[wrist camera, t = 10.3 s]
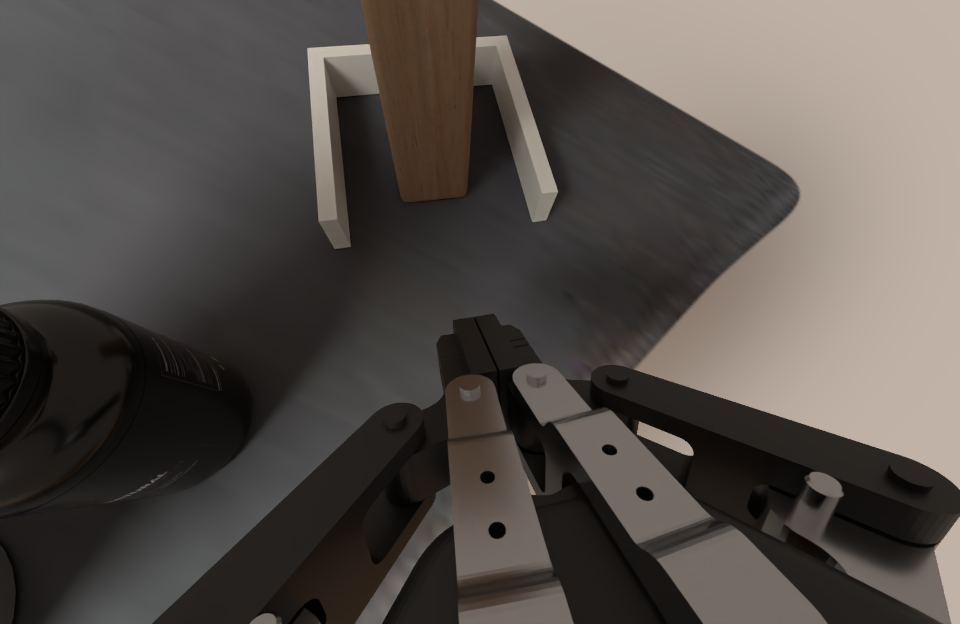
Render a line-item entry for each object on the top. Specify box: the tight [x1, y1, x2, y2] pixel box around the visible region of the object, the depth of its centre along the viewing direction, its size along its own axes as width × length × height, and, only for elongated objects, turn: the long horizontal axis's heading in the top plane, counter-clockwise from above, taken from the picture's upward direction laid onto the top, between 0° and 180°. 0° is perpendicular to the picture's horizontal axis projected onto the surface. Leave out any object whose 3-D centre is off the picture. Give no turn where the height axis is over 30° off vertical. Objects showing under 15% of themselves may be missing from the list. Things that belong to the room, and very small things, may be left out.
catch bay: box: [307, 36, 558, 249], centre depth 25 cm, size 14×14×3 cm
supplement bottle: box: [0, 300, 251, 519], centre depth 14 cm, size 7×7×12 cm
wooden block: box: [360, 0, 479, 203], centre depth 18 cm, size 9×4×18 cm, turn 10°
